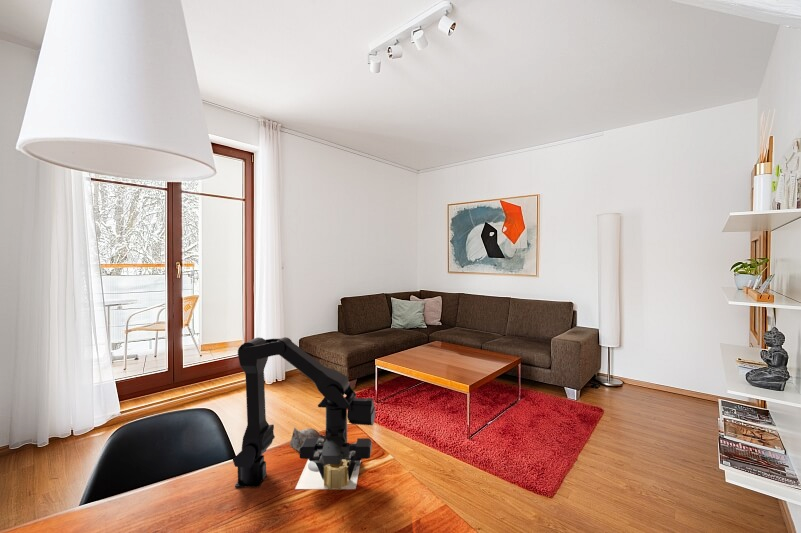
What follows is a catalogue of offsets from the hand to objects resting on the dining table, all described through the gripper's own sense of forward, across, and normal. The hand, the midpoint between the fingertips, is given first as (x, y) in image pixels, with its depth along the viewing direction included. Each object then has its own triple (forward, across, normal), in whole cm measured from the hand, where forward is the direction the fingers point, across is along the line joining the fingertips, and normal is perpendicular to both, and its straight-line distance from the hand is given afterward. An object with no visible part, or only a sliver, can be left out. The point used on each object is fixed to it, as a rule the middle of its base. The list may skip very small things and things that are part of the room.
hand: (336, 478), depth 99 cm
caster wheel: (+3, -11, +18) cm, 22 cm away
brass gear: (+1, 0, 0) cm, 1 cm away
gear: (+1, +2, +8) cm, 8 cm away
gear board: (+2, -2, +4) cm, 6 cm away
